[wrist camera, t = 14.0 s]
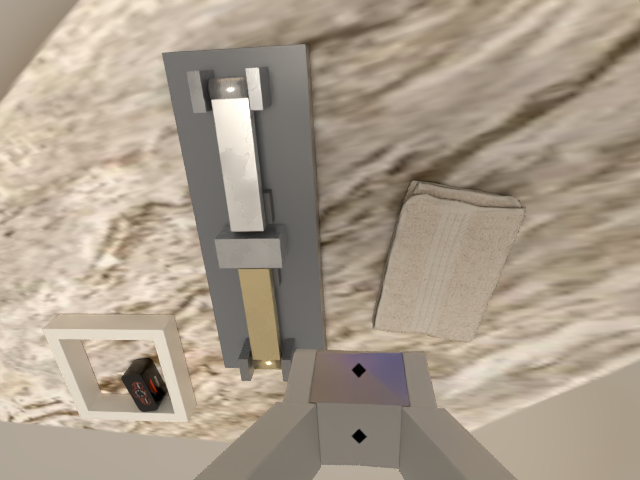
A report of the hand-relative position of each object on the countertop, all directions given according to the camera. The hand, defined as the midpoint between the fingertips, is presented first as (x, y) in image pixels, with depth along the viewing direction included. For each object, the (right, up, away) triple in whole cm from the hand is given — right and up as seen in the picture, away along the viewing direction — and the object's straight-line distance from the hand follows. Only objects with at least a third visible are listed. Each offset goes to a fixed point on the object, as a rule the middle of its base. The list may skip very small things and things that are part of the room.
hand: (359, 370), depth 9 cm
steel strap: (-8, +10, +25) cm, 28 cm away
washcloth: (+12, +1, +33) cm, 35 cm away
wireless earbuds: (-23, -16, +44) cm, 52 cm away
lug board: (-7, +5, +32) cm, 33 cm away
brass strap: (-7, -5, +32) cm, 33 cm away
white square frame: (-26, -13, +42) cm, 51 cm away
